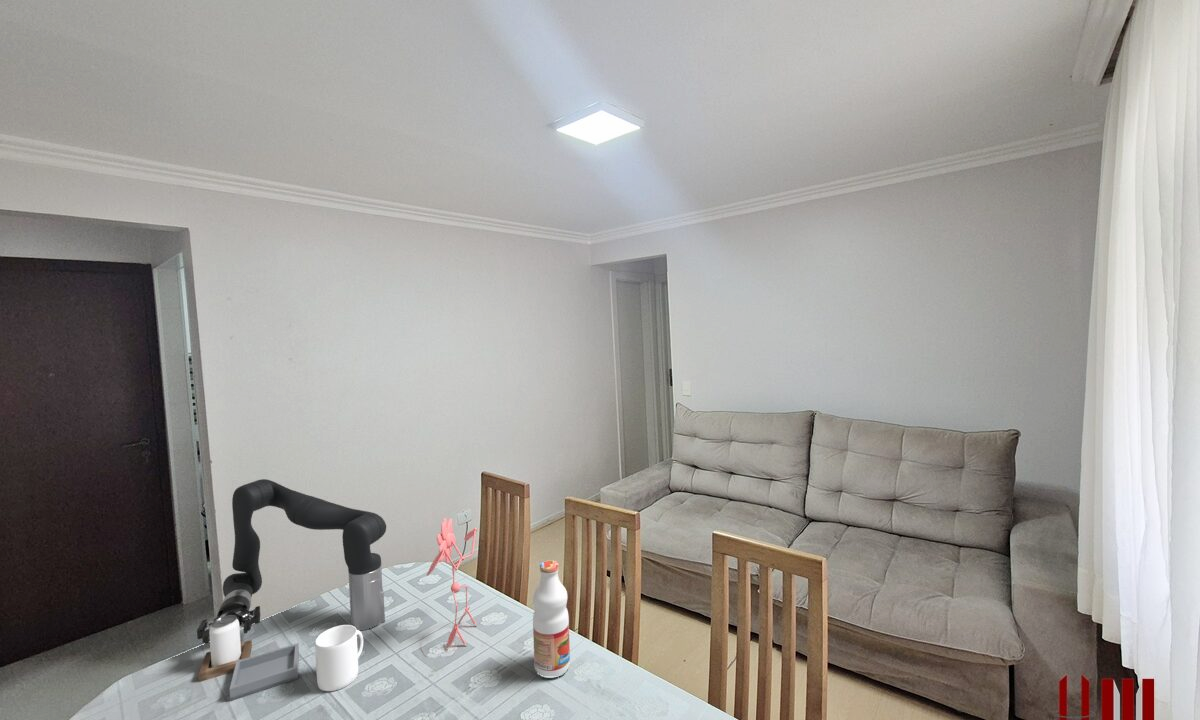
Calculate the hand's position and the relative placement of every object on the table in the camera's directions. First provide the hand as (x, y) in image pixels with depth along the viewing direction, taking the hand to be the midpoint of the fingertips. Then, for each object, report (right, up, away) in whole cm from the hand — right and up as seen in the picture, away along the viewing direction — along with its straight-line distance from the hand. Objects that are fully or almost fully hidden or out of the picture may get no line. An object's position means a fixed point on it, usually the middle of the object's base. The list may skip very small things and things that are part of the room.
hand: (226, 635), depth 132 cm
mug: (+36, -7, -7) cm, 37 cm away
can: (+1, -7, -1) cm, 8 cm away
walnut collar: (+1, -7, -1) cm, 7 cm away
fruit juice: (+91, -5, -6) cm, 91 cm away
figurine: (+59, -6, +9) cm, 60 cm away
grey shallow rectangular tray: (+16, -7, -6) cm, 18 cm away
